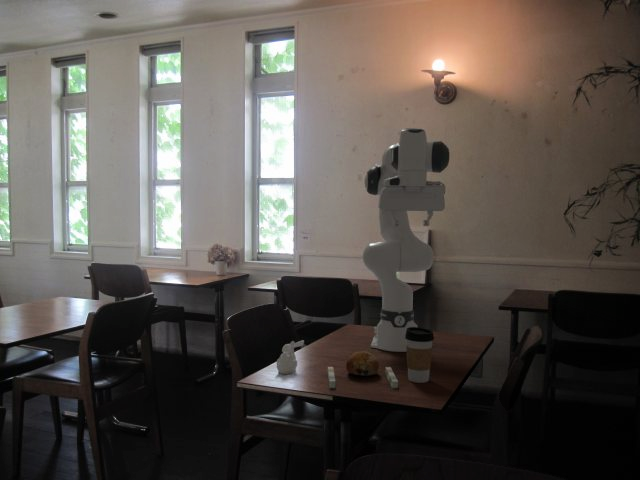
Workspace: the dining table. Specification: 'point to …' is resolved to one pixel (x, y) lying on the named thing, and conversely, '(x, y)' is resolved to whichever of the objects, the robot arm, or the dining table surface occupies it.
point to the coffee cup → (419, 353)
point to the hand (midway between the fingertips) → (411, 225)
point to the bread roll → (362, 364)
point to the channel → (388, 373)
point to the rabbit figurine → (288, 358)
